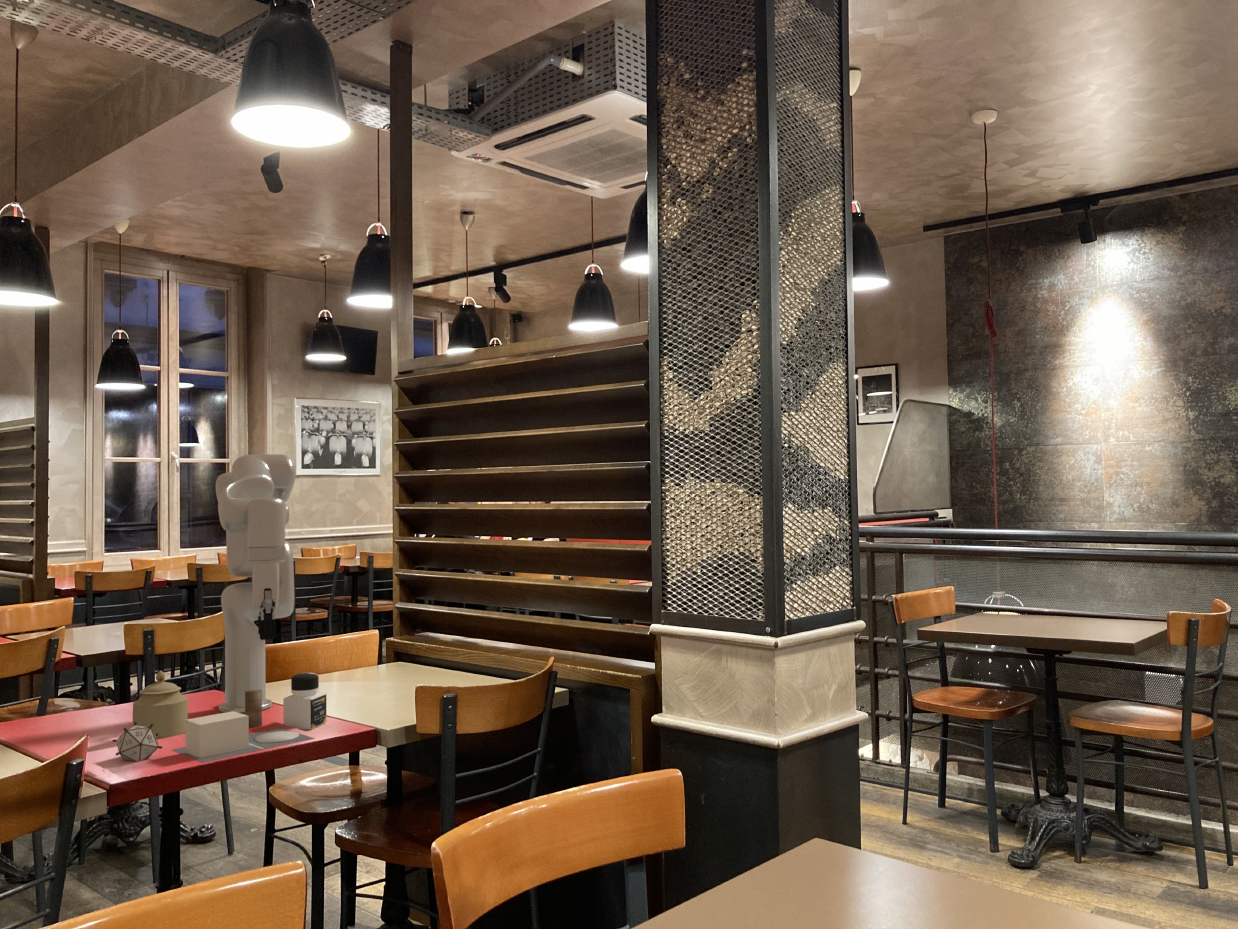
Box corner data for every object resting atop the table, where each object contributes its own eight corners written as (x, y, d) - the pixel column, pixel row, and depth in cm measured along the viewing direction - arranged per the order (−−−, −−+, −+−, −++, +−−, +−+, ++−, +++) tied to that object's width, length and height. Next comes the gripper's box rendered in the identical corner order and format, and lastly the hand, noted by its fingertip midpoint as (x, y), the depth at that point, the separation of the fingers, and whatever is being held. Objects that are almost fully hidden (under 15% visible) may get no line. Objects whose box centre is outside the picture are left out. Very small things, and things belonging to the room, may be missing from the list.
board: (171, 755, 196) (171, 735, 196) (281, 733, 213) (280, 714, 214) (202, 768, 186) (202, 747, 186) (315, 744, 203) (314, 724, 203)
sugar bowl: (111, 739, 211) (111, 671, 211) (157, 728, 220) (157, 663, 221) (152, 747, 203) (152, 676, 204) (198, 735, 213) (198, 668, 213)
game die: (131, 781, 191) (127, 735, 196) (172, 764, 192) (167, 719, 197) (105, 770, 183) (101, 723, 189) (148, 753, 184) (143, 706, 190)
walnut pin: (242, 731, 216) (242, 691, 216) (257, 728, 219) (257, 689, 219) (249, 733, 213) (249, 693, 214) (264, 730, 216) (264, 691, 216)
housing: (185, 752, 194) (185, 719, 194) (233, 742, 201) (233, 711, 201) (200, 758, 189) (200, 725, 189) (248, 748, 196) (248, 716, 196)
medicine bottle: (311, 730, 216) (311, 677, 216) (282, 729, 217) (282, 676, 218) (327, 723, 223) (326, 671, 223) (299, 722, 224) (299, 671, 225)
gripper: (246, 555, 209) (247, 633, 208) (248, 557, 193) (248, 642, 192) (283, 553, 211) (283, 631, 210) (287, 556, 195) (288, 640, 195)
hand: (267, 636), depth 201 cm, fingers open, 9 cm apart
